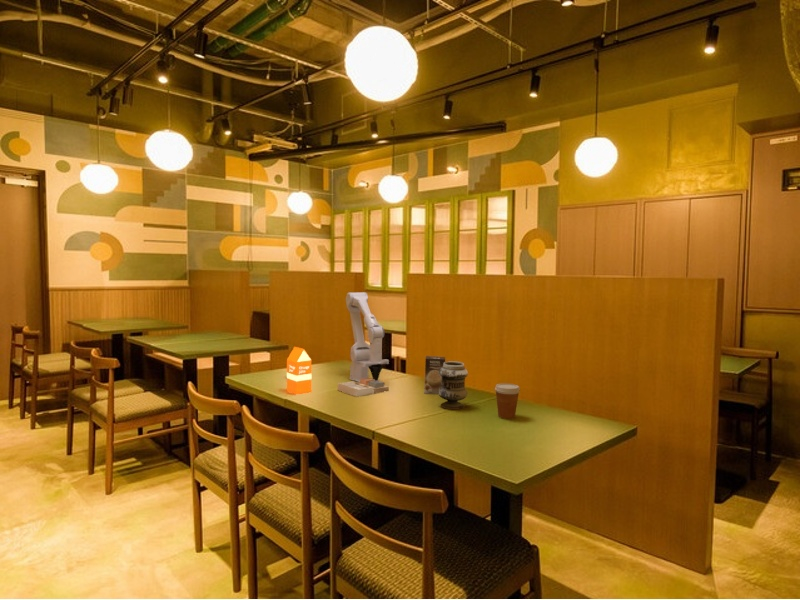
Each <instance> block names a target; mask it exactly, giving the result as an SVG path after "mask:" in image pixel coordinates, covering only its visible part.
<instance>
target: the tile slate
mask: <svg viewBox="0 0 800 600" xmlns="http://www.w3.org/2000/svg"><path fill="white" fill-rule="evenodd" d="M384 385H385V381H381V380H379V379H378V380H376V381H370V382H369V386H371V387H374V388H379V387H384Z"/></svg>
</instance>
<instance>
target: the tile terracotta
mask: <svg viewBox="0 0 800 600" xmlns="http://www.w3.org/2000/svg"><path fill="white" fill-rule="evenodd" d="M370 381H375V379H373V377H369V378H363V379H360V383H361V384H364V385H369V382H370Z"/></svg>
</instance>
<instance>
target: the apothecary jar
mask: <svg viewBox="0 0 800 600" xmlns="http://www.w3.org/2000/svg"><path fill="white" fill-rule="evenodd" d="M439 374H440V376H441V377H442V385H441V387H440V389H439V390H438V394H437V395H439V397H440V398H442V399H443V400H446V401H444V402H441V403H440V407H441V408H443V409H445V410H460V409H464V408H465V404H464V403H461V402H460V401H462V400H464V399H466V398H467V396H468V390H467V389H466V382H465V381H466V378H467V377H468V375H469V372H468V370H467V368H465V363H463V362H462V361H453V360H451V361H450V360H449V361H445V362H444V363H443V367H442V368H441V369H440V370H439Z"/></svg>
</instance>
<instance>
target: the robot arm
mask: <svg viewBox="0 0 800 600" xmlns="http://www.w3.org/2000/svg"><path fill="white" fill-rule="evenodd" d="M368 303H369V296H368V293H367V292H364V291H363V292H361V291H360V292H357V291H356V292H351V291H349V292H347V294H346V296H345V304H346V309H347V311H349V315H350V321H351V328H352V329H351V330H352V332H353V333H352V334H353V339H354V340H353V341H354V344H353V345H352V346H351V347H350V360H351V361H352V362H351V363H350V367H349V368H350V370H349V373H350V374H349V375H350V376H349V378H348V380H352V381H355V382H356V383H358V382H360V379H363V378H370V376H369V374H370V373H371V378H372V379H375V381H376V380H379V377H380V373H381V372H382V370H383V366H384V365H389V364H390V363H389V362H390V360H389V359H387V358H386V359H383V350H382V349H383V338H384V337H385V329H384V326H383V325H381V324H379V322H378V320H377V318H376V315H374V314H373V313H372V312H371V310H370V307H369V304H368ZM361 314H362V316H363V322H364V325H365V327H366V329H367V338H368V342H369V343H367V342H366V341H365V334H364V330H363V329H364V328H363V323H362V317H361ZM369 372H370V373H369Z"/></svg>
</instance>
